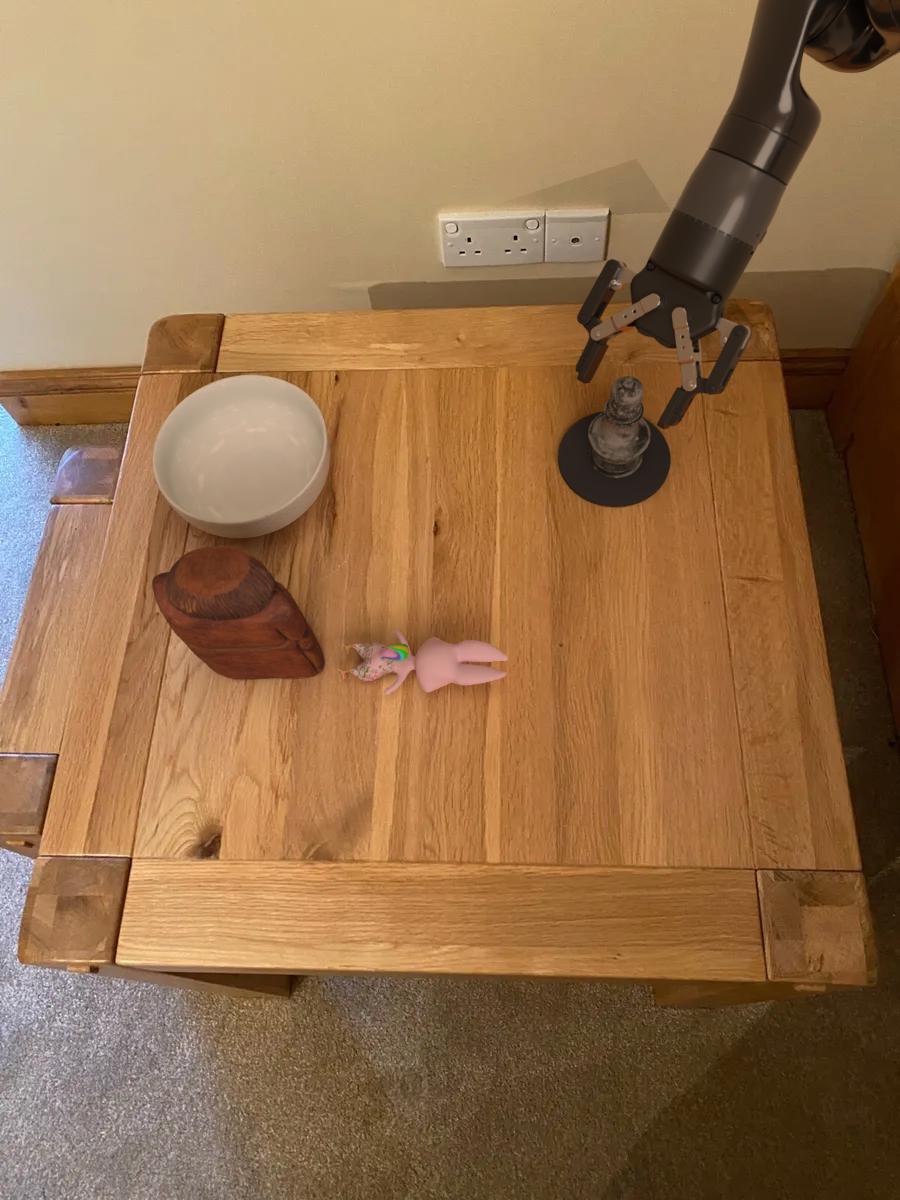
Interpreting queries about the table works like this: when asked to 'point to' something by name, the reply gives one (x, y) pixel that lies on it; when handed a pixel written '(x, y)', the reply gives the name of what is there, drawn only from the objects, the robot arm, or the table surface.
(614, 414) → the salt shaker
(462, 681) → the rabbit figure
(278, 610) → the wooden figurine
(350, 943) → the table surface
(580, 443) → the coaster
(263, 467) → the cereal bowl
